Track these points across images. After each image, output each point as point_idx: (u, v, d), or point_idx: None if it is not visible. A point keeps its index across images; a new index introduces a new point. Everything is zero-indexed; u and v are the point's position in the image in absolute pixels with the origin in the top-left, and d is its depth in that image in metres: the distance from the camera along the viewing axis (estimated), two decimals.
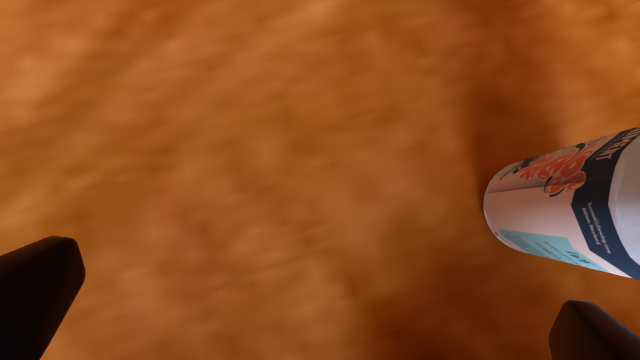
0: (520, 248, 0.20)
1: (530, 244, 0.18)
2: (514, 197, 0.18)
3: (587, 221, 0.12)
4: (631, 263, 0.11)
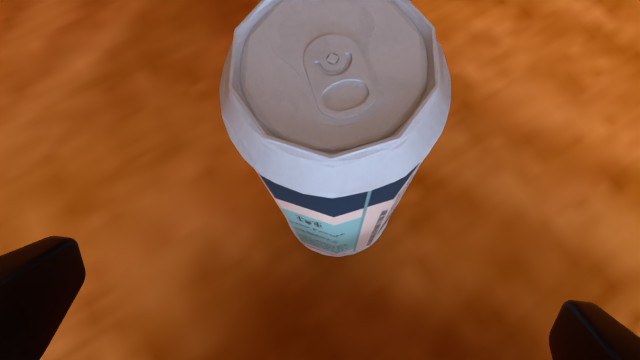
0: (327, 250, 0.17)
1: (306, 235, 0.14)
2: None
3: None
4: (282, 187, 0.08)
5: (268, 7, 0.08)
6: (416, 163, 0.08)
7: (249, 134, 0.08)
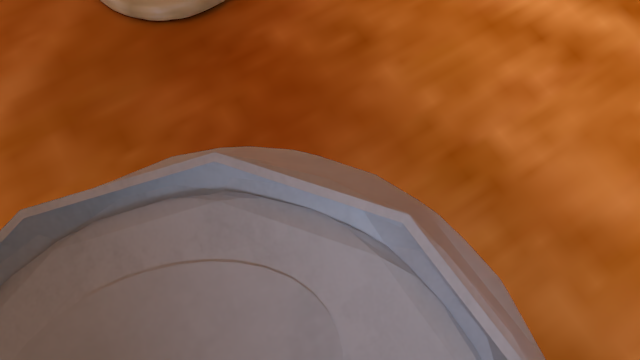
0: None
1: None
2: None
3: None
4: None
5: (10, 268, 0.03)
6: None
7: None
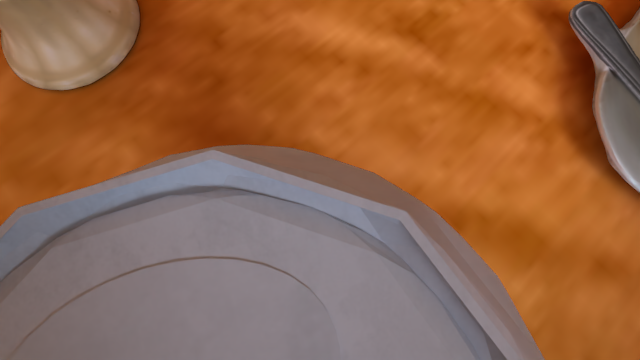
0: None
1: None
2: None
3: None
4: None
5: (8, 265, 0.03)
6: None
7: None
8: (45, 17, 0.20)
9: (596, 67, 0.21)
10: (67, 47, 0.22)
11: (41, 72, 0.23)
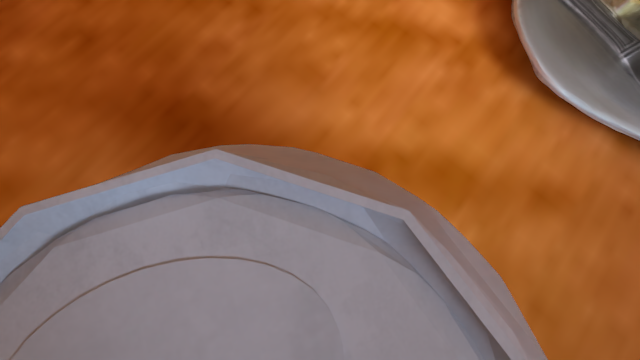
0: None
1: None
2: None
3: None
4: None
5: (10, 265, 0.03)
6: None
7: None
8: None
9: None
10: None
11: None
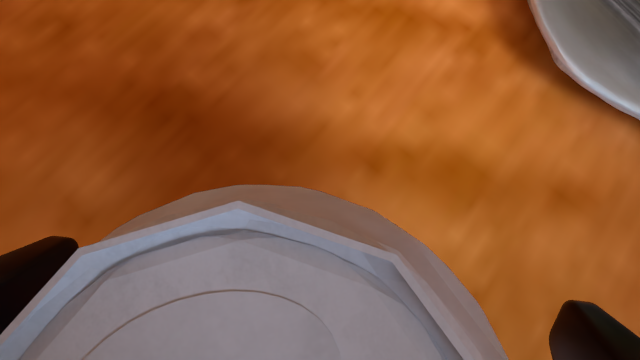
0: None
1: None
2: None
3: None
4: None
5: (68, 295, 0.03)
6: None
7: None
8: None
9: None
10: None
11: None
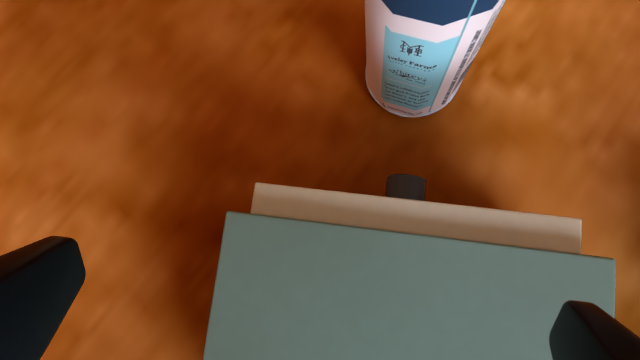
0: (407, 108, 0.19)
1: (395, 83, 0.17)
2: None
3: None
4: None
5: None
6: None
7: None
8: None
9: None
10: None
11: None
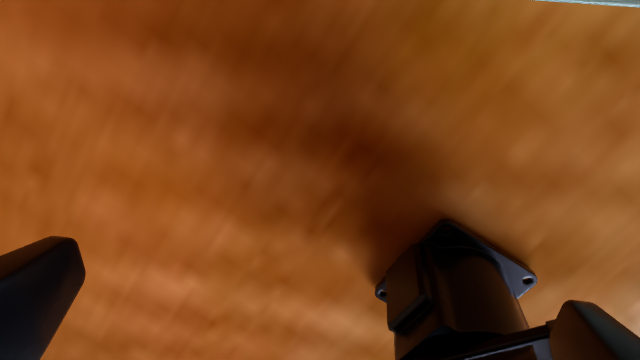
0: None
1: None
2: None
3: None
4: None
5: None
6: None
7: None
8: None
9: None
10: None
11: None
